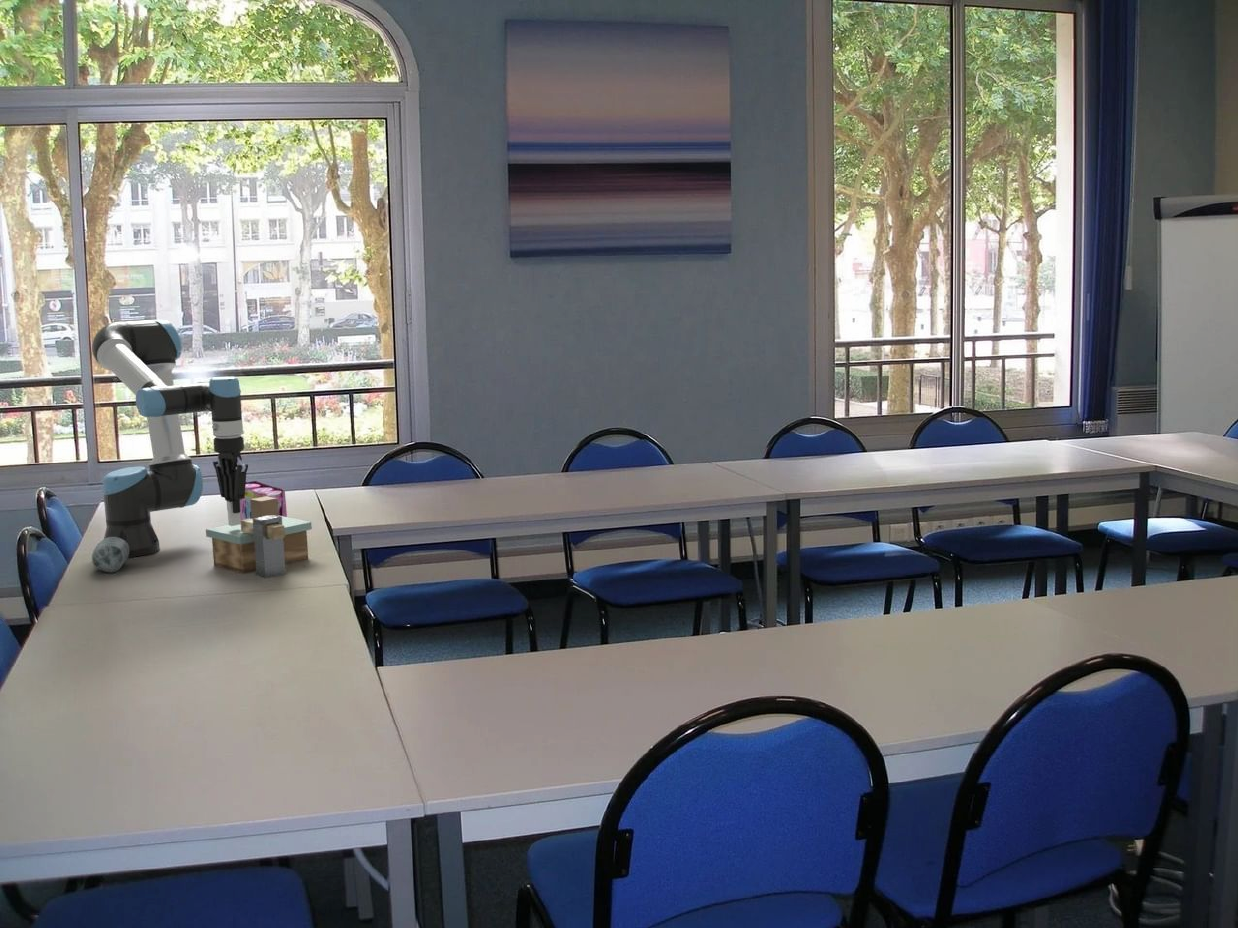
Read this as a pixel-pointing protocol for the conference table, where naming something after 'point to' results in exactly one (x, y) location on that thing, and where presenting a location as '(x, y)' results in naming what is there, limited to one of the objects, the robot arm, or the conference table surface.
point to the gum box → (261, 490)
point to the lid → (258, 509)
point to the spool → (110, 554)
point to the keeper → (268, 548)
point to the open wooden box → (244, 554)
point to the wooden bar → (271, 529)
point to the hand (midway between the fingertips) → (234, 524)
